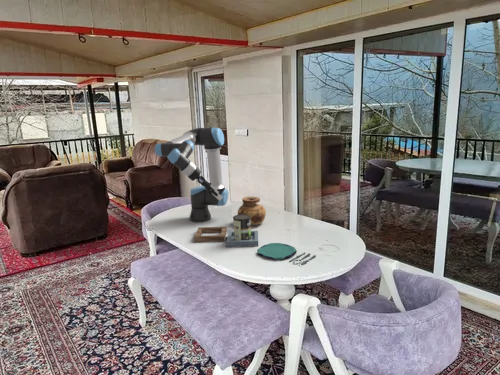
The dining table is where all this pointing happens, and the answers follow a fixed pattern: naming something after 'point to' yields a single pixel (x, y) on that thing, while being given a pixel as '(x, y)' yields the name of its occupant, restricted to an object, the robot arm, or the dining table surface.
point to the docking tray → (240, 243)
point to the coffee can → (242, 227)
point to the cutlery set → (280, 252)
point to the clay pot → (252, 210)
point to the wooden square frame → (210, 237)
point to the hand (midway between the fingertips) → (219, 196)
